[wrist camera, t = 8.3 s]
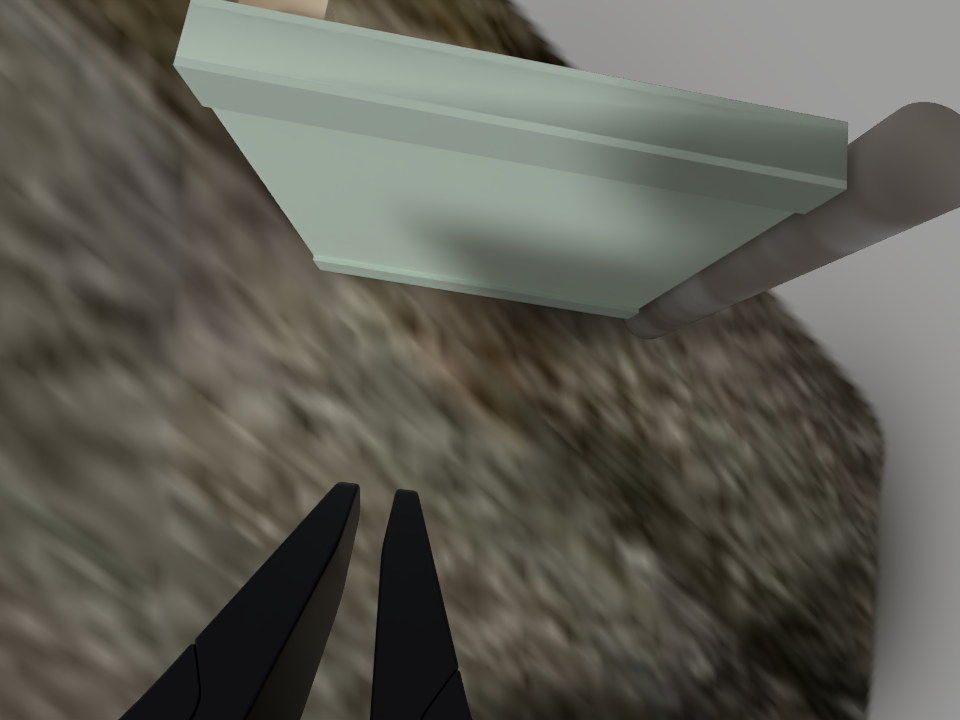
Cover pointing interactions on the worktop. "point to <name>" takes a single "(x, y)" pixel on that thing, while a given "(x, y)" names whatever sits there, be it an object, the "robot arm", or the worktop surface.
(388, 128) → the pale green flat block
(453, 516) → the worktop surface
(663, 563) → the worktop surface
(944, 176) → the frame
